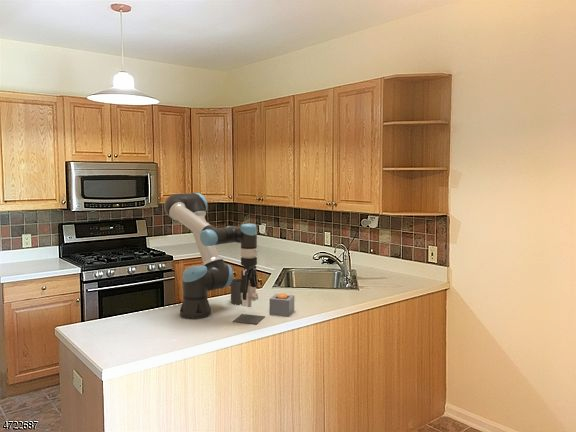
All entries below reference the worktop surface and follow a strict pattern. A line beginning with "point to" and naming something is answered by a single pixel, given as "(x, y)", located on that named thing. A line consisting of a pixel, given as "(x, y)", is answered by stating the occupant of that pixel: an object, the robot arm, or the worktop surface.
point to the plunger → (281, 296)
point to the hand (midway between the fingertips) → (249, 303)
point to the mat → (248, 319)
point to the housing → (282, 305)
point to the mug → (236, 292)
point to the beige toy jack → (251, 296)
